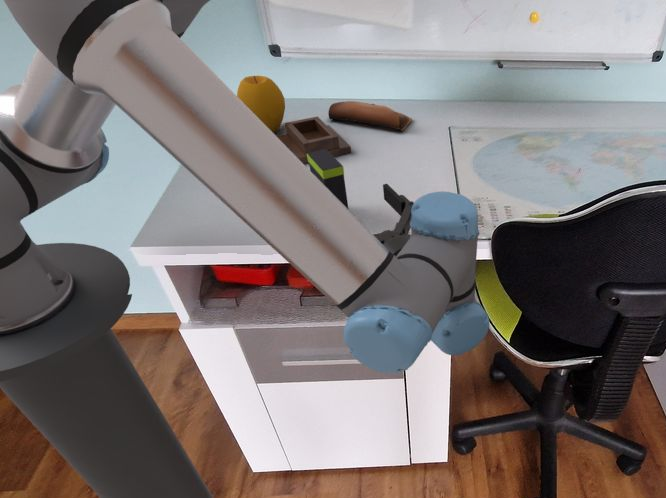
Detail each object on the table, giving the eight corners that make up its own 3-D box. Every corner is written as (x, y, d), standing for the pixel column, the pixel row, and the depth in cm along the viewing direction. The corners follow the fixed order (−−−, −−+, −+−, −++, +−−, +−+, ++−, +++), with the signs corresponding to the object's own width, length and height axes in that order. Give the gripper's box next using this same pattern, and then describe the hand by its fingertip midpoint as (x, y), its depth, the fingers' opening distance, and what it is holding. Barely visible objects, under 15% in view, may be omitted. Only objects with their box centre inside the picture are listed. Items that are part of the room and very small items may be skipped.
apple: (288, 120, 125) (277, 65, 117) (292, 137, 119) (281, 82, 111) (244, 124, 123) (230, 69, 115) (246, 142, 117) (231, 85, 108)
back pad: (332, 229, 95) (322, 170, 87) (317, 210, 99) (306, 152, 91) (351, 223, 96) (343, 165, 88) (335, 205, 100) (326, 148, 92)
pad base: (297, 165, 110) (293, 146, 107) (277, 142, 117) (273, 124, 114) (351, 152, 115) (349, 134, 112) (329, 131, 122) (326, 113, 119)
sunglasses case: (413, 117, 127) (407, 97, 121) (405, 142, 126) (398, 123, 119) (344, 106, 131) (334, 86, 124) (335, 130, 129) (324, 112, 123)
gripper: (329, 321, 73) (277, 243, 85) (482, 265, 83) (416, 202, 95) (320, 277, 68) (266, 200, 80) (484, 223, 77) (414, 162, 90)
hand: (347, 201), depth 87 cm, fingers open, 13 cm apart
